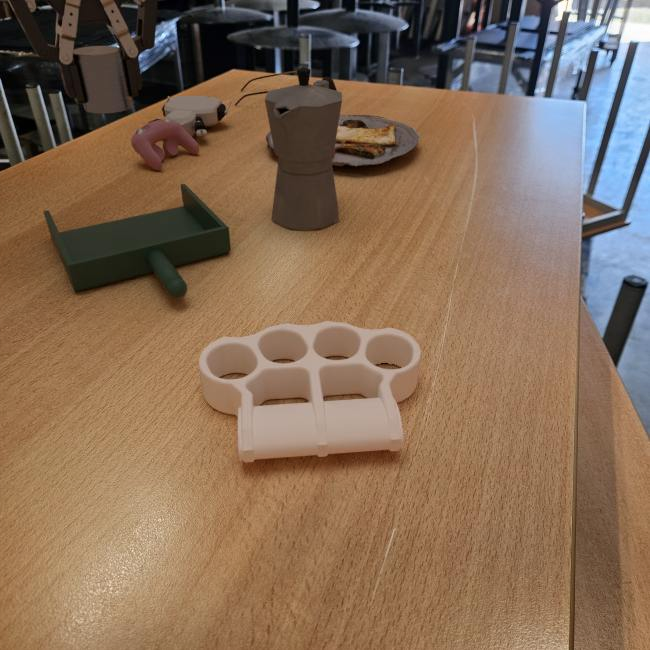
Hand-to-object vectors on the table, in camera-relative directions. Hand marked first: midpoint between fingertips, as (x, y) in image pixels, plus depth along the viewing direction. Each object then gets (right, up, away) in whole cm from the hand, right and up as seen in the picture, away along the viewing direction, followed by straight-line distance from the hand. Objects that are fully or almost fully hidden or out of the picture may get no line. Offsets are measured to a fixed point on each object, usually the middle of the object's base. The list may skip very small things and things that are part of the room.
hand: (106, 97), depth 59 cm
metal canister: (0, -1, +1) cm, 1 cm away
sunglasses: (+12, +24, +62) cm, 67 cm away
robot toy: (-1, +11, +43) cm, 45 cm away
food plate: (+26, +6, +36) cm, 45 cm away
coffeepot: (+21, -9, +16) cm, 28 cm away
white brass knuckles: (+22, -30, -12) cm, 39 cm away
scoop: (+3, -16, +5) cm, 17 cm away
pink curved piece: (-2, +2, +31) cm, 32 cm away
